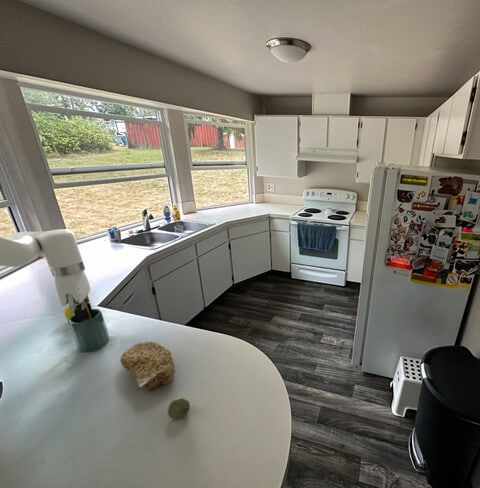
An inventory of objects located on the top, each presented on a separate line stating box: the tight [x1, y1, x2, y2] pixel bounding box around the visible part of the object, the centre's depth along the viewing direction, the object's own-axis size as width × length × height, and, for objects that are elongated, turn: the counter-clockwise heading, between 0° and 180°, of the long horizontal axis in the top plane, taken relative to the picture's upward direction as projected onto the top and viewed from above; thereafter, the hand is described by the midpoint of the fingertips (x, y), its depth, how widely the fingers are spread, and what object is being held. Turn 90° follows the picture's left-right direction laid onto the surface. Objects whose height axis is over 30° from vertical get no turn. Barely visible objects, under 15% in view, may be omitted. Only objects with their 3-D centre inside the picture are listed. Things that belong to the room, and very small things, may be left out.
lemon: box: [63, 305, 75, 320], centre depth 100 cm, size 6×6×8 cm
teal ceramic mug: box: [67, 308, 111, 353], centre depth 88 cm, size 8×8×12 cm
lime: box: [167, 396, 191, 421], centre depth 66 cm, size 4×5×5 cm
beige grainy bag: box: [120, 341, 176, 392], centre depth 79 cm, size 13×8×20 cm
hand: (85, 316), depth 86 cm, fingers closed on brush, 2 cm apart
